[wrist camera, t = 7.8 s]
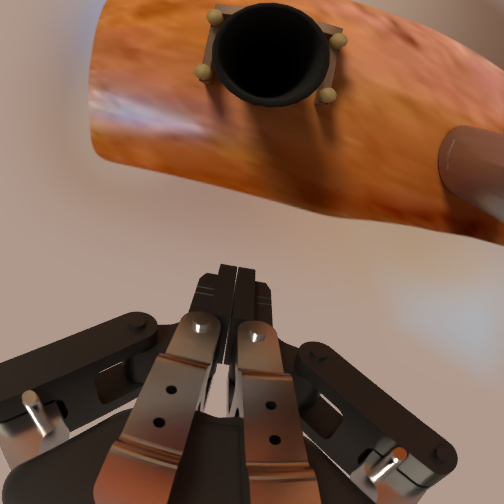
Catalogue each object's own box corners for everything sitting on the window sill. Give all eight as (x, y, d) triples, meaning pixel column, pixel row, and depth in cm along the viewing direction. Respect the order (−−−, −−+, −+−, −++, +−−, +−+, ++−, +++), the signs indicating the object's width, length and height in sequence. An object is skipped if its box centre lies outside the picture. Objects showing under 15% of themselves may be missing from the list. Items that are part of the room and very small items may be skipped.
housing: (338, 36, 25) (350, 25, 21) (324, 105, 29) (334, 105, 25) (216, 12, 24) (210, -2, 20) (201, 83, 28) (192, 78, 24)
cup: (308, 48, 26) (338, 16, 15) (295, 115, 29) (319, 117, 18) (234, 36, 25) (222, -4, 15) (221, 103, 29) (202, 97, 18)
